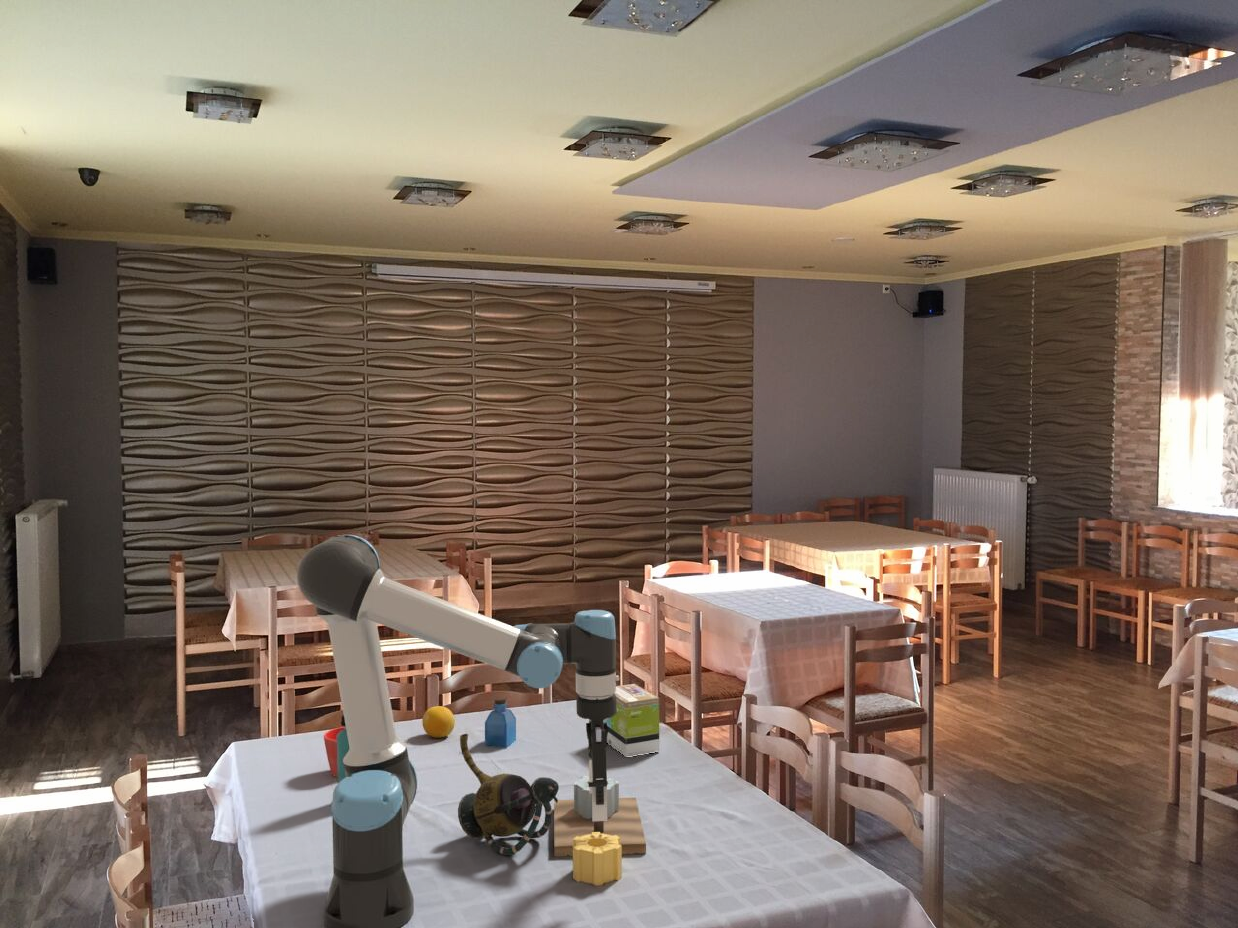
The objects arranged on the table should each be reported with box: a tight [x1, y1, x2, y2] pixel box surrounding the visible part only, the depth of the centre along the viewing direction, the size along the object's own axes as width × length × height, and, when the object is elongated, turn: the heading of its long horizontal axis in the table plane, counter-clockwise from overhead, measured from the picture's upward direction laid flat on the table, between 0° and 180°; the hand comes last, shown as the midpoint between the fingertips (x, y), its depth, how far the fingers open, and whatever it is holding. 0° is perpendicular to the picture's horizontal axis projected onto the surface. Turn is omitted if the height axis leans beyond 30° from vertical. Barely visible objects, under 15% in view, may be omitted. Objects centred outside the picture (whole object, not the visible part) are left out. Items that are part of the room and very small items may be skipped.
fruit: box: [422, 705, 455, 739], centre depth 271 cm, size 9×8×8 cm
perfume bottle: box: [484, 696, 517, 749], centre depth 265 cm, size 6×6×12 cm
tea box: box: [603, 683, 661, 758], centre depth 261 cm, size 15×10×15 cm, turn 25°
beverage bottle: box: [337, 714, 350, 784], centre depth 224 cm, size 6×7×20 cm
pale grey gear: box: [573, 774, 620, 819], centre depth 214 cm, size 10×9×6 cm
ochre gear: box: [572, 832, 623, 886], centre depth 189 cm, size 10×9×6 cm
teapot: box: [457, 733, 560, 856], centre depth 201 cm, size 12×25×23 cm
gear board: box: [553, 797, 647, 857], centre depth 208 cm, size 24×18×9 cm
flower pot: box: [323, 726, 346, 778], centre depth 243 cm, size 11×11×10 cm
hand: (598, 805), depth 188 cm, fingers open, 13 cm apart
